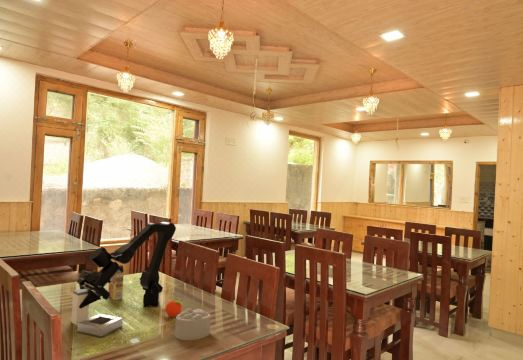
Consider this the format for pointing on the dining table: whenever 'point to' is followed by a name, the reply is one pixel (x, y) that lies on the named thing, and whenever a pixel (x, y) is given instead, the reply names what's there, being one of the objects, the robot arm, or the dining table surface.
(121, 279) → the candy box
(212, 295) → the dining table surface
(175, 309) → the tomato
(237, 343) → the dining table surface
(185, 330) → the lumpy-topped squat cylinder
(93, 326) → the socket
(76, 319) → the plug
